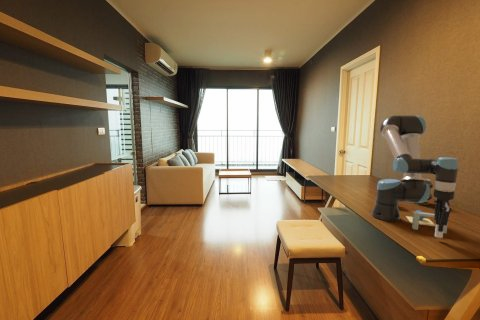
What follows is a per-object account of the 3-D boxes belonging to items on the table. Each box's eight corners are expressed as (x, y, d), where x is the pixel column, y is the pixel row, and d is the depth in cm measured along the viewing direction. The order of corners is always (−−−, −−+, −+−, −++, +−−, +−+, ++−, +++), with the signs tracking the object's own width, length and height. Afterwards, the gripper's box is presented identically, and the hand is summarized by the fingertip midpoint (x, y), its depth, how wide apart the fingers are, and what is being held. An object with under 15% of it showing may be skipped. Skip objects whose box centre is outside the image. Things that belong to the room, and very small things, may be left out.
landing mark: (411, 223, 140) (411, 223, 140) (405, 216, 152) (405, 216, 152) (436, 226, 136) (436, 226, 136) (428, 219, 147) (428, 218, 147)
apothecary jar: (428, 202, 182) (431, 178, 180) (433, 206, 171) (436, 181, 169) (409, 200, 187) (411, 177, 185) (412, 204, 176) (415, 180, 174)
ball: (412, 220, 148) (415, 216, 144) (411, 212, 151) (414, 208, 147) (423, 221, 146) (426, 217, 142) (422, 213, 149) (425, 209, 145)
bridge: (446, 233, 127) (448, 216, 126) (413, 229, 132) (415, 213, 131) (444, 231, 130) (446, 214, 129) (411, 227, 135) (413, 211, 134)
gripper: (460, 194, 108) (454, 244, 111) (448, 187, 120) (442, 232, 123) (440, 192, 111) (434, 241, 114) (429, 186, 123) (424, 230, 126)
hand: (438, 236), depth 119 cm, fingers closed
